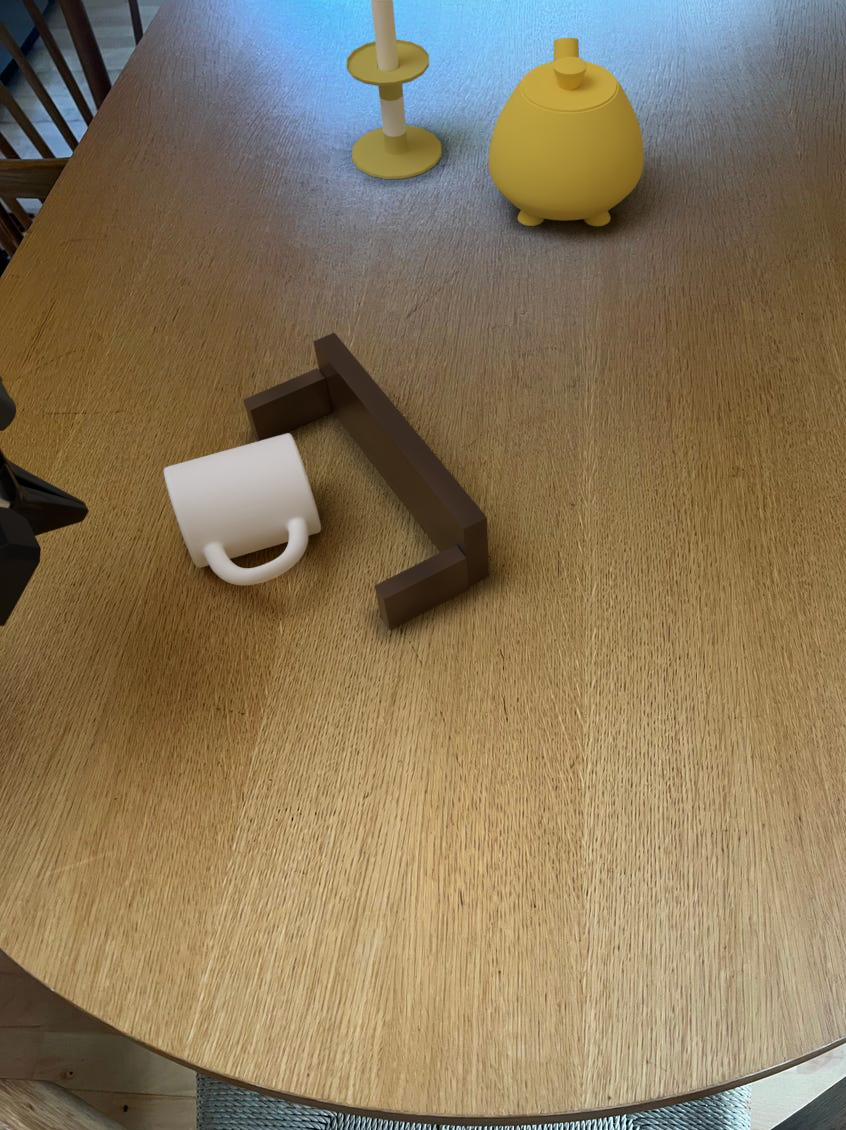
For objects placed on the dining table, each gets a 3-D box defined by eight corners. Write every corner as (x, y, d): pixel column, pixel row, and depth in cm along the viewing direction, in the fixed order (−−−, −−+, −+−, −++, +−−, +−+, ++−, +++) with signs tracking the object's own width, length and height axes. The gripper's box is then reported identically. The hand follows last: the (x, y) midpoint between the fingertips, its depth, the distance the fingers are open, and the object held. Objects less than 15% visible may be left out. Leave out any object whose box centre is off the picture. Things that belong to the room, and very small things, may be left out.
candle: (433, 182, 108) (412, -115, 85) (342, 176, 109) (297, -119, 86) (449, 130, 113) (434, -162, 91) (362, 124, 114) (325, -166, 92)
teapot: (494, 132, 113) (491, -1, 101) (635, 132, 112) (648, -2, 100) (485, 244, 102) (482, 108, 90) (642, 245, 101) (658, 108, 89)
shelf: (389, 630, 76) (379, 574, 70) (252, 433, 88) (234, 371, 82) (490, 578, 79) (489, 519, 73) (344, 393, 90) (333, 330, 85)
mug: (184, 515, 83) (155, 446, 76) (302, 481, 85) (284, 411, 78) (215, 628, 77) (186, 564, 70) (341, 589, 79) (325, 523, 72)
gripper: (-78, 453, 49) (195, 509, 61) (-165, 252, 57) (88, 336, 70) (-156, 620, 53) (113, 641, 65) (-226, 409, 62) (23, 462, 74)
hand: (84, 512), depth 68 cm, fingers closed
